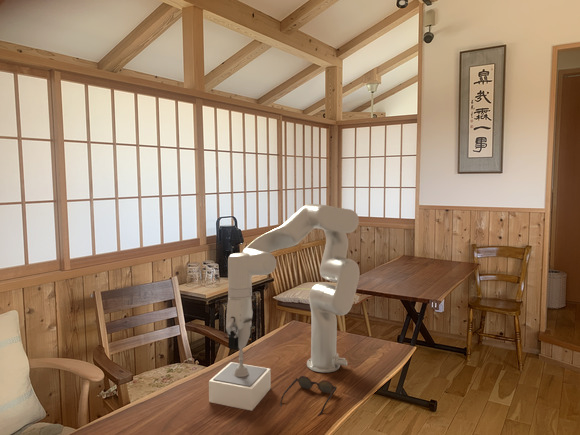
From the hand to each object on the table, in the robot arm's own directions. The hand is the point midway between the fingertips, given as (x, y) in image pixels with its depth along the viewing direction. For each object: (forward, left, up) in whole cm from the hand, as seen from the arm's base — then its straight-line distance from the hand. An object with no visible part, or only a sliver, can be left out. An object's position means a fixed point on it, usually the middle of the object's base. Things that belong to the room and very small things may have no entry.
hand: (240, 343), depth 145 cm
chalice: (0, 0, -10) cm, 11 cm away
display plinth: (0, 0, -18) cm, 18 cm away
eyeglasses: (-22, -5, -18) cm, 29 cm away
